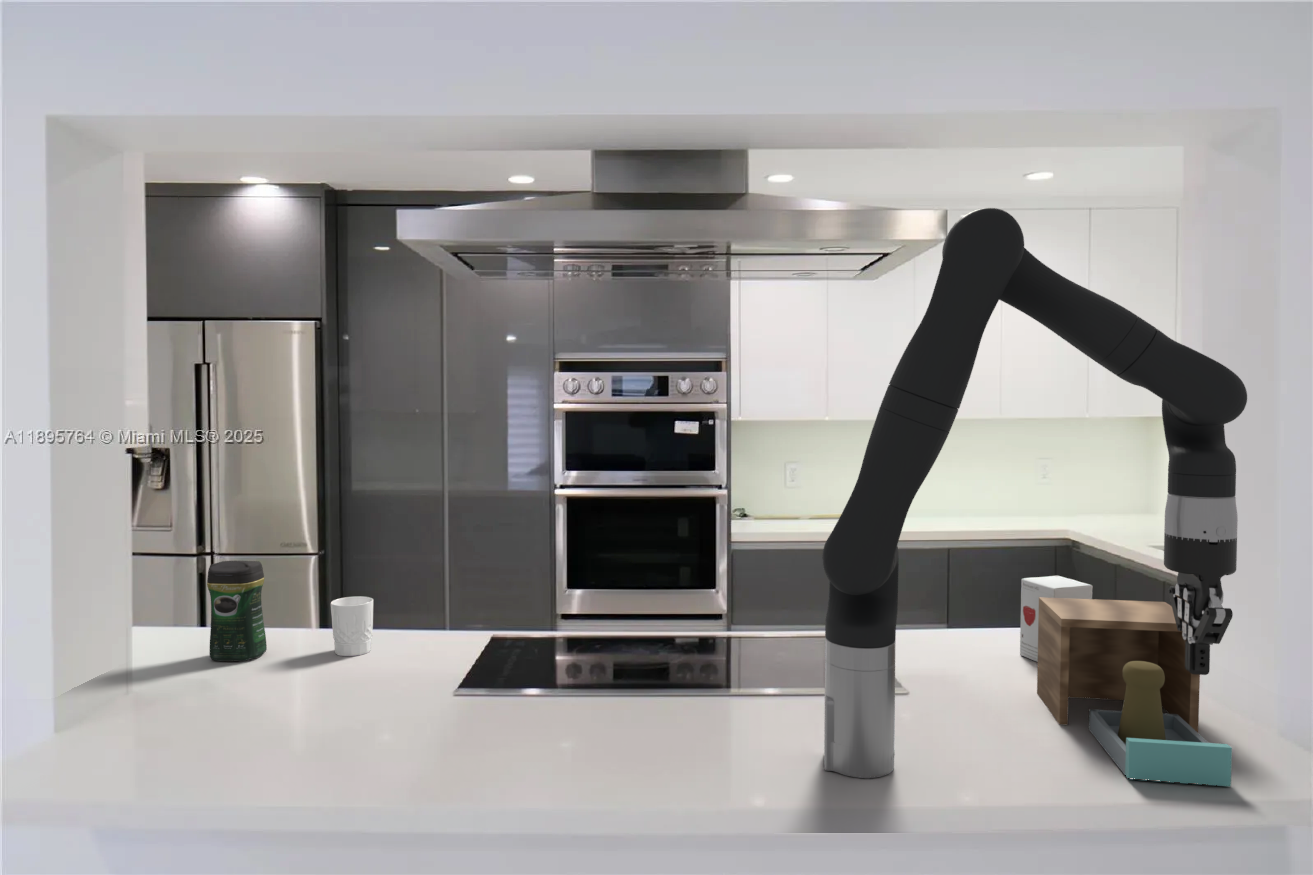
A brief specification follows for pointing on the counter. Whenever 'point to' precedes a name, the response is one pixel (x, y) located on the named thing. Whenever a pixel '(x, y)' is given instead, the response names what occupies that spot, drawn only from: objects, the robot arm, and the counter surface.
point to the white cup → (352, 625)
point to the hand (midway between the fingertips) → (1197, 672)
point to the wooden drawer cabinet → (1110, 653)
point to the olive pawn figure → (1142, 702)
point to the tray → (1164, 752)
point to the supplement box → (1030, 605)
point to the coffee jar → (236, 610)
